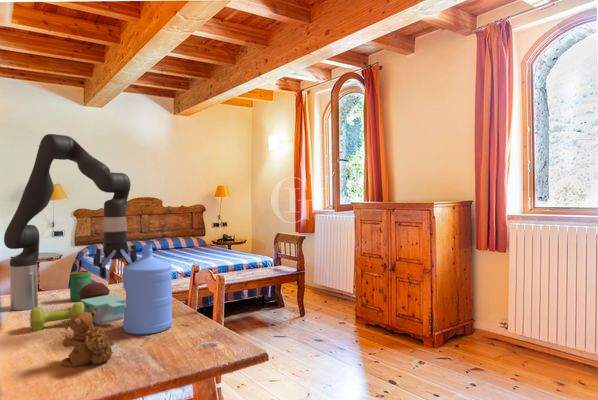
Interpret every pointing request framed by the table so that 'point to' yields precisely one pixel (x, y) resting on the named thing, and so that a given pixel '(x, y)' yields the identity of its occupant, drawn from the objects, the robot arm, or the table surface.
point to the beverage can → (78, 283)
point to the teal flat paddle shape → (106, 303)
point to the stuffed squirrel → (86, 342)
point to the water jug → (147, 295)
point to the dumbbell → (52, 315)
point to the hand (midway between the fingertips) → (116, 276)
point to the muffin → (93, 290)
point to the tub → (103, 315)
